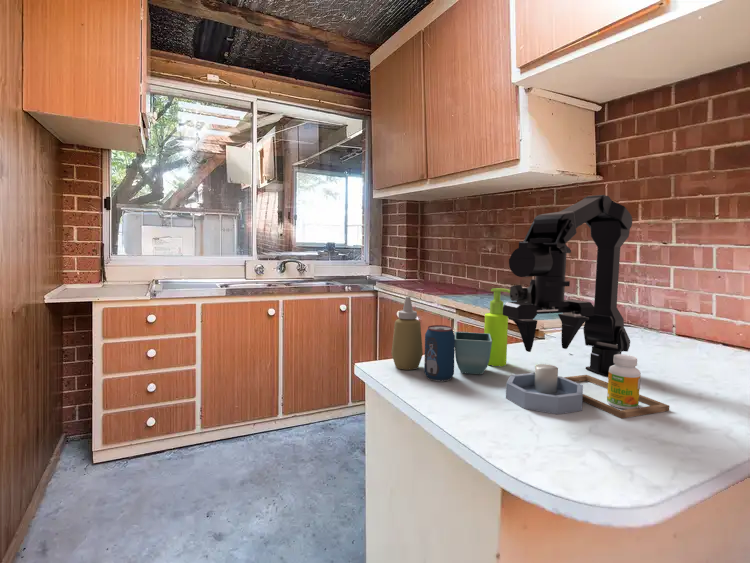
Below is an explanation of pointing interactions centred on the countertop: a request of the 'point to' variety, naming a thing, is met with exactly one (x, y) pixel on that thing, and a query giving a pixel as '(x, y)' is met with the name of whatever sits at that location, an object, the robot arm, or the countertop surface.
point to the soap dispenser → (497, 329)
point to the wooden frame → (653, 408)
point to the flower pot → (472, 351)
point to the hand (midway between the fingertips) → (546, 350)
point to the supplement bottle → (624, 382)
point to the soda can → (439, 353)
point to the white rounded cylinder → (546, 378)
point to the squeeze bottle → (407, 339)
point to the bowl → (544, 395)
